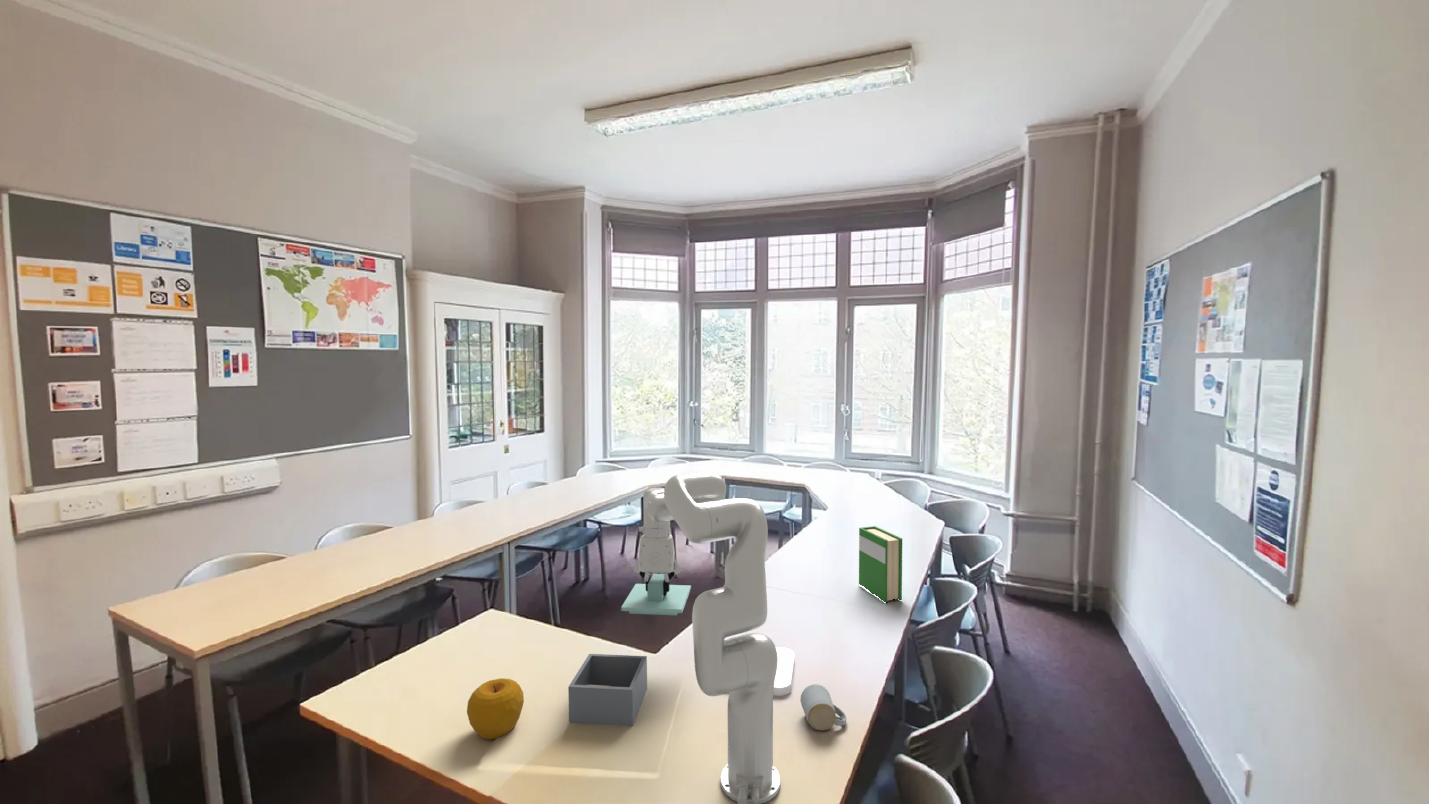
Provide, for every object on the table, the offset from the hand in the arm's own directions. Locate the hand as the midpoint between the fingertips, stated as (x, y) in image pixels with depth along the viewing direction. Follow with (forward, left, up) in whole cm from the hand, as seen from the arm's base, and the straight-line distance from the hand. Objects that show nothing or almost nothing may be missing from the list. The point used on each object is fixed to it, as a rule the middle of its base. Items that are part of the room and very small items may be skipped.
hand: (657, 593), depth 160 cm
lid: (0, 0, -3) cm, 3 cm away
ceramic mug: (-20, -46, -23) cm, 55 cm away
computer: (+2, -28, -24) cm, 37 cm away
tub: (-19, +9, -23) cm, 31 cm away
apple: (-30, +34, -23) cm, 51 cm away
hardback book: (+62, -75, -23) cm, 100 cm away
